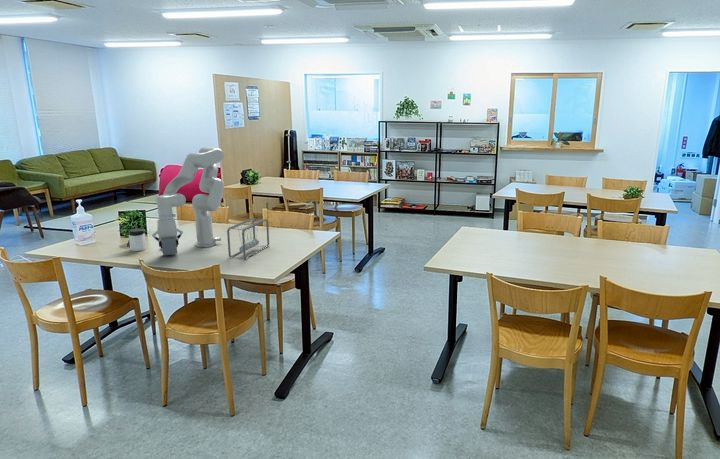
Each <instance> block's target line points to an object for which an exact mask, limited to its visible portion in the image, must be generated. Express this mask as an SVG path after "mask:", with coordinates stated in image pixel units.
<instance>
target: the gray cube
mask: <svg viewBox="0 0 720 459" xmlns="http://www.w3.org/2000/svg"><path fill="white" fill-rule="evenodd" d="M161 243H162V249H161V252H162V256H168V255H176V254H178V247H177V245H176V238H175V237H174V236H172V237H163V238H162V239H161Z"/></svg>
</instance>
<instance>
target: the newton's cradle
mask: <svg viewBox="0 0 720 459" xmlns="http://www.w3.org/2000/svg"><path fill="white" fill-rule="evenodd" d="M264 222H266V240H267V244H266V245H264V246H262V247H261V248H260V249H258V250H256V251H254V252H253V253H251V254H250V255H247V256H246V251H249V250H250V249H252V248H254V247H256V246H255V245H260V244H259V243H260V240H259V239H257V236H258V235H256V230H257V231H258V230H259V229H258V228H259V227H257V229H256V226H259V225H260V224H262V223H264ZM243 226H244V227H243ZM239 227H240V228H239ZM269 228H270V227H269V220H268V219H267V218H265V219H264V218H258V220H257V221H255V218H254V217H250V218H248V219H246V220H243V221H241V222H239V223H236V224H234V225H232V226H230V227H228V228H227V229H226V230H227V231H226V234H227V251H228V257H229V258H230V257H232V258H234V257H236V256H238V255H240V254H241V253H240V252H242V255H243V256H242V257H241V258H240V259H243V260H247V259H246V258H247V257H249V256H251V255H253V254H254V253H256V252H258V251H260V250H261V249H263V248H265V247H266V246H268V245H269V246H270V231H269V230H270V229H269ZM236 229H237V230H238V231H240V230H241V231H242V232H241V234H240V233H238V235H239V236H242V238H241V237H239V239H240V241H242V242H240V243H241V244H240V245H241V246H240V247H239V248H238V249H239V251H238V252H236V253H234V254H231V251H232V250H231V242H230V241H231V239H230V230H236ZM248 231H250V232H249V233H250V235H252V234H253V236H250V238H249V236H248V235H245V234H246V233H248ZM245 236H247V237H246V239H245ZM246 240H247V242H246ZM269 246H268V247H269ZM265 249H266V248H265ZM263 250H264V249H263ZM260 252H261V251H260ZM239 253H240V254H239ZM258 253H259V252H258ZM237 254H238V255H237ZM235 255H236V256H235ZM233 256H234V257H233ZM253 256H254V255H253ZM251 257H252V256H251Z"/></svg>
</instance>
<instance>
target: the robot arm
mask: <svg viewBox="0 0 720 459" xmlns="http://www.w3.org/2000/svg"><path fill="white" fill-rule="evenodd" d="M224 156H225V154H224V151H223V150H222V149H221V148H218V147H210V146H209V147H208V146H205V147H201V148H199V150H198V152H189V153H188V154H187V155H186V157H185V159H184V161H183V164H182V166H181V168H180V170H179V172H178V174H177V175H176V176H175V177H174V178H172V180H170V182H168V184H167V185H166V187H165V188H164V191H163V194H161V195H158V196H157V197H156V206H157V213H158V214H157V215H158V219H157V220H156V221H157V222H156V223H157V224H156V225H157V230H156V231H155V232H153V233H152V234H151V236H152V238H154V240H156V242H158V247H159V248H160V249H161V250H162V243H161V239H162V238H163V237H172V236H174V237H175V238H176V245H177V248H178V245H180V244H179V243H180V242H179V239H180V238H181V237H182V235H183V234H184V231H182V230H181V229H179V228H177V223H176V220H175V217H176V216H177V215H176V214H174V212H173V208H178V207H182V206H184V205H185V204H186V203H187V202H186V201H187V199H186V196H185V195H184V194H182V193H179V192H178V191H179V189H180V188H182V187H183V186H185V185H187V184H190V183H192V182H193V181H194V178H195V177H196V174H197V171H198V169H203V171H202V174H201V177H200V181H199V185H198V187H199V190H200V191H201V192H203V193H199V194H196V195H193V197H192V200H191V202H192V208H193V212H194V217H195V219H194V220H195V232H196V241H195V243H194V246H195V248H196V247H197V248H208V247H209V248H210V247H213V246H215V245H217V242H220V241H222V238H221V237H215V236H214V234H213V222H212V220H213V219H212V214H211V212H216V211H218V209H219V207H220V205H221V202H222V198H223V194H224V191H225V183H224V181H223V180H222V179H221V178H218V171H219V168H218V164H219V163H221V162H222V161H223V160H224ZM177 192H178V193H177ZM204 193H206V194H204ZM207 193H208V194H207ZM157 236H158V237H157Z"/></svg>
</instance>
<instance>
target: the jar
mask: <svg viewBox="0 0 720 459" xmlns="http://www.w3.org/2000/svg"><path fill="white" fill-rule="evenodd" d="M128 240H129V242H130V246H129V248H130V249H129V250H130V251H131V252H140V251H145V250H146V249H147V243H146V242H147V240H146V233H145V229H144V228H140V227H139V228H132V229H131V228H130V230H129V229H128Z"/></svg>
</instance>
